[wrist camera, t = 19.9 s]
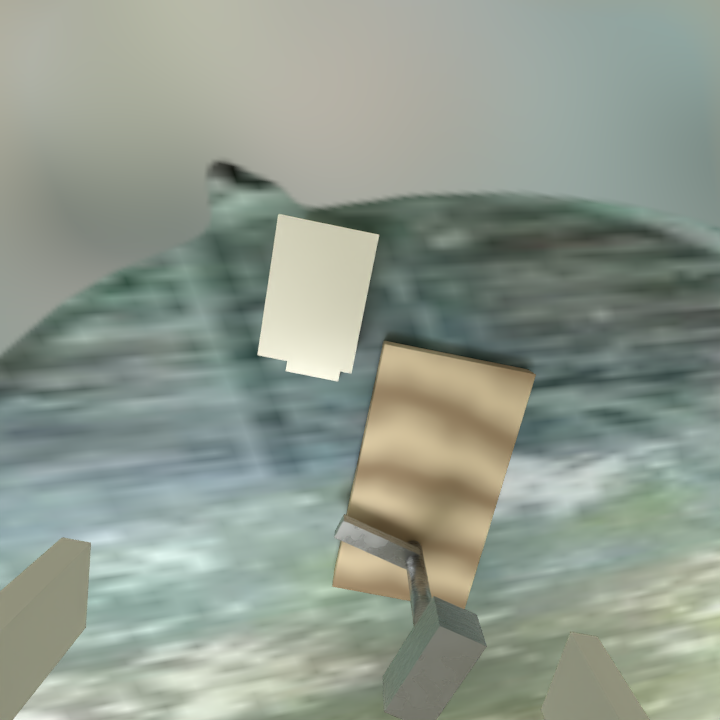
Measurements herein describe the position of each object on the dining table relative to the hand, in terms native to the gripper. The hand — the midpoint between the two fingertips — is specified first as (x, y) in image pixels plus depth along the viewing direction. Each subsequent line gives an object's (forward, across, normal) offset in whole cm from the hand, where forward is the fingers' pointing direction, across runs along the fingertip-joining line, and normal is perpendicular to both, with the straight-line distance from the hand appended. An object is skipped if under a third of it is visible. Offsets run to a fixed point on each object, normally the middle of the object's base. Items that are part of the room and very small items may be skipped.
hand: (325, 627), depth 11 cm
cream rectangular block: (+29, +4, -6) cm, 29 cm away
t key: (+26, -6, +15) cm, 31 cm away
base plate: (+29, -9, +10) cm, 32 cm away
